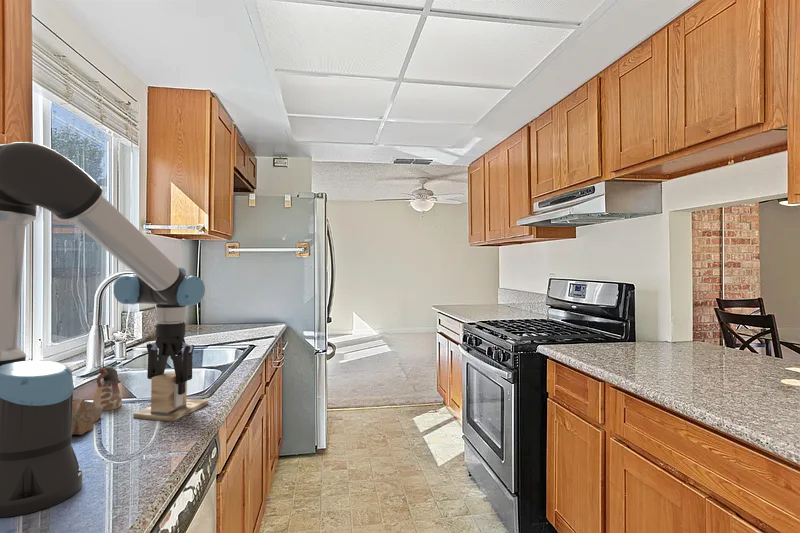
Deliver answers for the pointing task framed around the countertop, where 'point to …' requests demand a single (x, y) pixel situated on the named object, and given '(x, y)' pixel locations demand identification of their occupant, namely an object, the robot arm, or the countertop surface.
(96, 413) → the stone
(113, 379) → the figurine
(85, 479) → the countertop surface
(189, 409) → the board
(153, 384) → the block
